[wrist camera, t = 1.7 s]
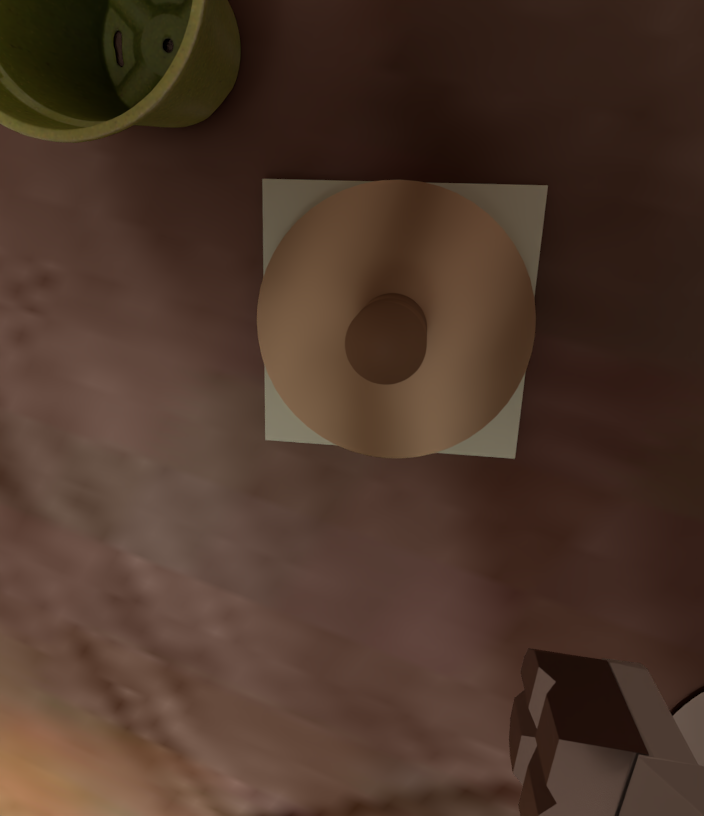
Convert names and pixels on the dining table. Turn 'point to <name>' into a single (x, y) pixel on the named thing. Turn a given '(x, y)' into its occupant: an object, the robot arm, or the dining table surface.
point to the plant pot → (113, 65)
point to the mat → (503, 202)
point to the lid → (396, 318)
